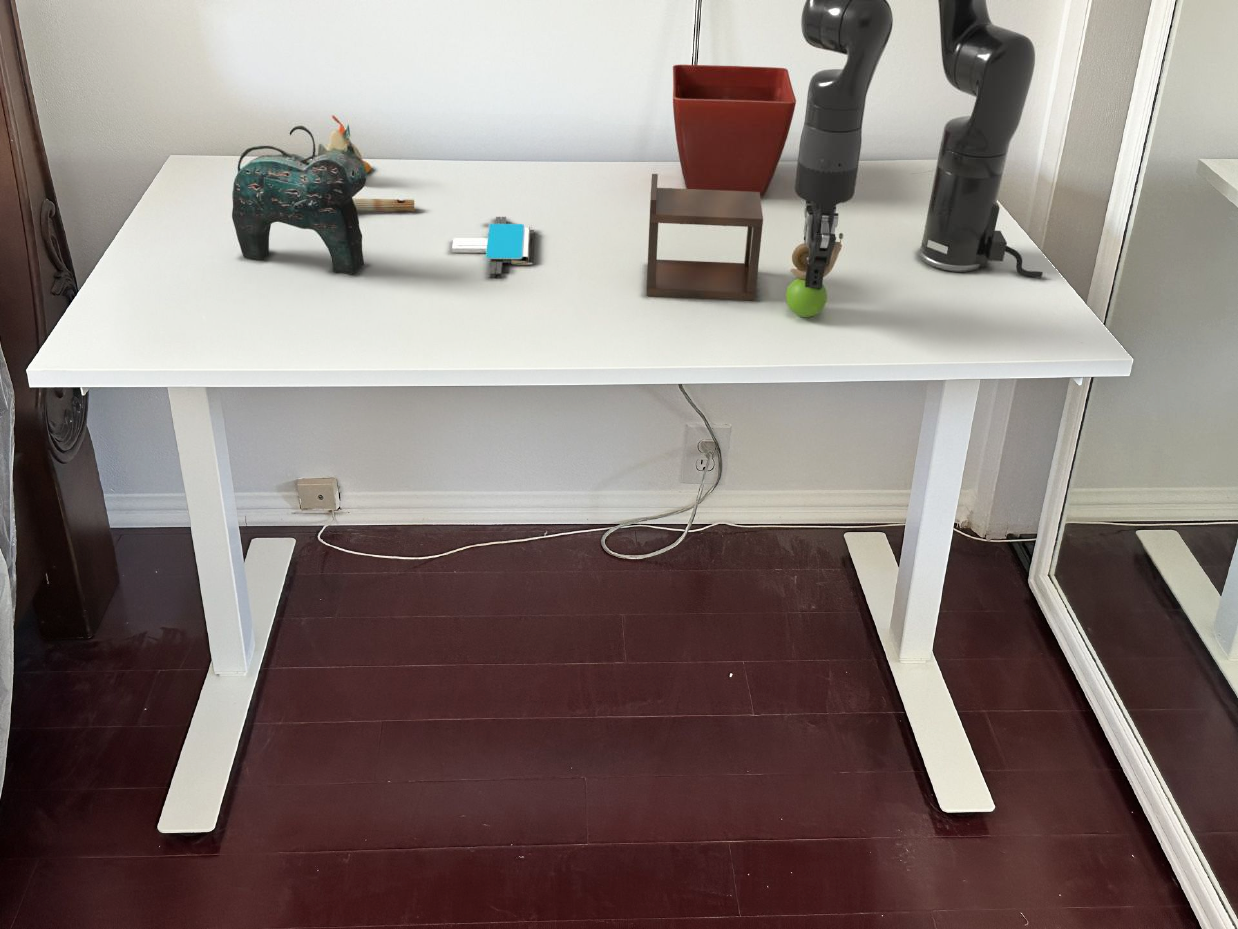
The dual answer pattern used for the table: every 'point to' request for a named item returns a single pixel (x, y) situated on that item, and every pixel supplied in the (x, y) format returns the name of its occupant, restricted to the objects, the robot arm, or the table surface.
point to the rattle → (343, 141)
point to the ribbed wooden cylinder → (383, 204)
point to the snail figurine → (797, 294)
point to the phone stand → (501, 246)
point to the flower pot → (731, 124)
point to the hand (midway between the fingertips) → (812, 284)
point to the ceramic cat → (301, 201)
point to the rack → (701, 275)
